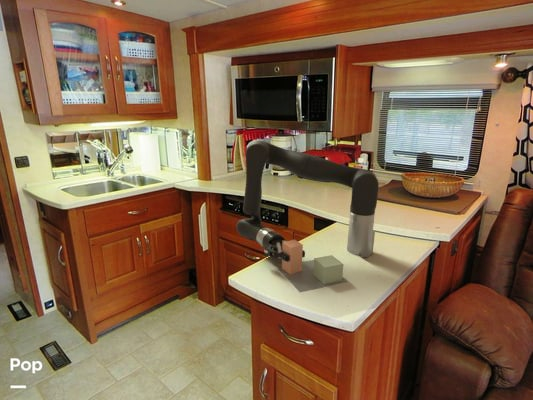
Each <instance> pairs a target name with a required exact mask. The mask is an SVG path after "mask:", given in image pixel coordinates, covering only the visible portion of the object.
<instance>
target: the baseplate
mask: <svg viewBox="0 0 533 400" xmlns="http://www.w3.org/2000/svg"><path fill="white" fill-rule="evenodd" d="M276 268H277V269H278V270H279V271H280V273H282V275H283V276H285V278H286V279H287V280H288V281H289V282H290V284H291V285H292V286H293V287H294V288H295V289H296V290H297V291H298V292H299V293H302V292H307V291H311V290H316V289H321V288H325V287H330V286H335V285H339V284H344V283H348V282H349V280H347V279H346V278H345V277H344V276H342V280H341V281H336V282H331V283H327V284H323V283H322V282H321V281H320V280H319V279H318V278H317V277H316V276H315V275H313V268H314V259H311V260H306V261H302V271H300V272H297V273H294V274H289V273H287V272H286V271H284V270H283V269H282V265H279V266H276Z"/></svg>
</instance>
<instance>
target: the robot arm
mask: <svg viewBox="0 0 533 400" xmlns="http://www.w3.org/2000/svg"><path fill="white" fill-rule="evenodd" d="M266 164H267V165H273V166H277V167H280V168H282V169H285V170H286V171H287V172H290V173H291V174H294V175H295V176H297V177H300V178H304V179H307V180H310V181H313V182H320V183H334V184H335V183H336V184H340V185H343V186H346V187H348V188H351V201H350V208H349V209H350V210H349V221H348V234H347V244H346V245H347V246H346V251H347V252H348V253H350V254H352V255H353V256H354V255H355V256H358V257H360V258H361V259H363V258H368V257H370V256H371V255H373V253H374V245H375V235H376V232H375V231H374V226H375V216H376V215H375V214H376V208H377V204H378V197H379V186H380V185H379V180H378V178H377V176H376V174H375V173H374V172H373V171H371V170H369V169H363V168H360V167H359V168H358V167H354V166H347V165H343V164H340V163H337V162H335V161H332V160H329V159H325V158H323V157H319V156H315V155H312V154H309V153H304V152H300V151H295V150H289V149H285V148H283V147H280V146H277V145H275V144H272V143H270V142H267V141H264V140H257V141H256V140H255V141H254V142H252V143H251V144H250V145H248V146H247V148H246V149H245V170H246V173H245V174H246V176H245V178H246V179H245V187H244V189H245V190H244V197H243V205H242V212H243V213H244V214H245V215H248V216H250V217H251V218H242V219H239V220H238V221H237V223H236V231H237V233H238V234H239V235H240V236H241V237H243V238H245V239H248V240H252V241H255V242H256V243H258V244H259V245H260V246H261V247H262V248H263V251H264V253H263V254H264V255H266V256H267V257H269V258H272V259H273V260H276V259H277V258H278V259H281V260H282V259H283V260H284V261H286V262H289V255H287V254H286V253H284V252H282V243H283V242H287V241H288V240H286V239H285V237H284V236H283V235H282V234H280V233H279V232H277V231H276V230H275V231H274V230H273V229H272V228H268V227H266V226H265V225H263V224H262V216H261V205H262V198H263V197H262V196H263V194H262V190H263V189H262V180H263V179H262V178H263V173H264V170H265V165H266ZM296 241H297V242H299V241H298V240H296ZM305 257H306V251H305V250H304V249H303V253H302V258H305Z"/></svg>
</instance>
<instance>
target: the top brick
mask: <svg viewBox="0 0 533 400" xmlns="http://www.w3.org/2000/svg"><path fill="white" fill-rule="evenodd" d="M286 241H287V242H283V243H282V252H284V253H286V254H287V255H289V262H286V261H284V260H283V259H281V266H282V269H283V270H284V271H286V272H287V273H289V274H294V273H297V272H300V271H302V262H303V257H302V253H303V250H304V249H303V247H304V244H303V243H301V242H299V241H298V240H296V239H291V240H286ZM297 241H298V242H297Z"/></svg>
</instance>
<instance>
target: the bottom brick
mask: <svg viewBox="0 0 533 400" xmlns="http://www.w3.org/2000/svg"><path fill="white" fill-rule="evenodd" d="M313 260H314V268H313V275H315V276H316V277H317V278H318V279H319V280H320V281H321V282H322V283H323V284H327V283H331V282H336V281H341V280H342V277H343V273H344V263H343V262H342V261H340V259H337V258H336V257H335V256H334V255H332V254H330V255H325V256H320V257H319V256H318V257H314V258H313Z"/></svg>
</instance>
